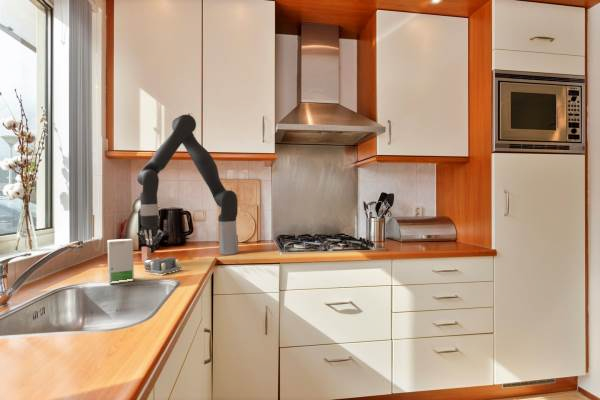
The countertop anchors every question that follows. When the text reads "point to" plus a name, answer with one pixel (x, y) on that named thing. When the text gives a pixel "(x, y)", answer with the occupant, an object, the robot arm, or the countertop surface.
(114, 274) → the skincare box
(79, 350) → the countertop surface
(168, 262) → the steel bar
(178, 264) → the peg board
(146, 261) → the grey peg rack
